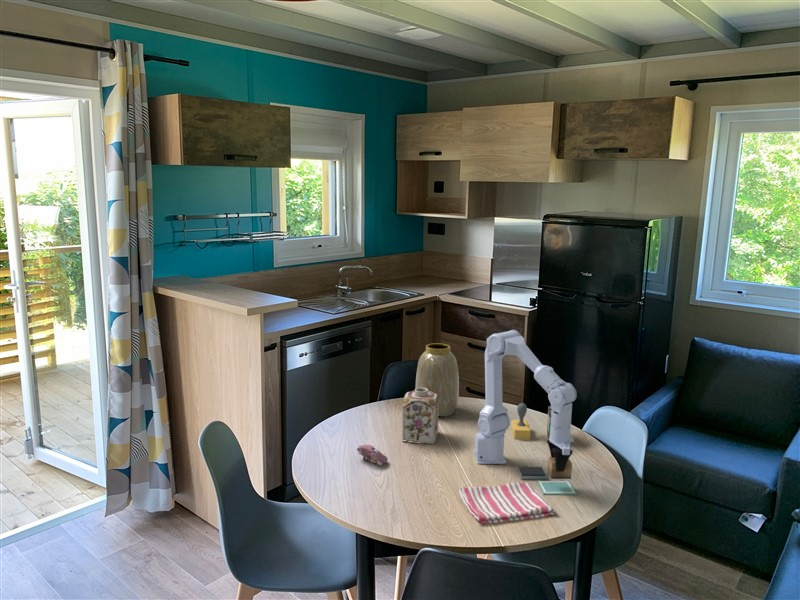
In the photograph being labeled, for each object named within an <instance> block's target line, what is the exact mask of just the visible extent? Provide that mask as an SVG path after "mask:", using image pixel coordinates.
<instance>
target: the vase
mask: <svg viewBox="0 0 800 600" xmlns="http://www.w3.org/2000/svg"><path fill="white" fill-rule="evenodd" d="M415 377H416V378H415V389H416V388H426V389H428V391H430V392H433V393H435V394H437V395H438V398H439V401H438V416H444V417H447V415H448V416H450V414H451V415H452V414H453V413H454V412H455V410H456V409H457V406H458V403H459V391H460V390H459V389H460V383H459V380H460V378H459V366H458V361H457V358H456V356H455V355H454V353H452V352H451V346H450V345H449V344H446V343H440V342H437V343H436V342H435V343H434V342H433V343H429V344H426V345H425V351H423V353H421V355H420V357H419V359H418V362H417V368H416V376H415Z"/></svg>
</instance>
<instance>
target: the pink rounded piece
mask: <svg viewBox="0 0 800 600" xmlns="http://www.w3.org/2000/svg"><path fill="white" fill-rule="evenodd" d="M356 450H357V452H358V455H360V456H362V457H363V458H364V457H365V458H367V459H369V461H371V460H372V461H371V462H372V463H373V462H376V463H377V462H378V463H381V464H383V463H385V462H387V463H388V457H387V456H386V455H384V454H382V452H381V451H380V450H379V449H377V448H375V447H374V445H372V444H371V445H370V444H365V443H362V444H360V445H359V446H358V447H357V448H356ZM365 458H364V459H365ZM385 464H386V463H385Z"/></svg>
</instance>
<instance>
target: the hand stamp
mask: <svg viewBox="0 0 800 600" xmlns="http://www.w3.org/2000/svg"><path fill="white" fill-rule="evenodd" d="M572 471H573V462H572V460H570V458H569V459H568V461H567V464H566V467H565V470H564V472H557V471H556V465H555V457H551V456H549V457H548V462H547V471H546V472H547V473H546V474H547V476H549V478H550V480H572Z"/></svg>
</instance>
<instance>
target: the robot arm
mask: <svg viewBox="0 0 800 600" xmlns="http://www.w3.org/2000/svg"><path fill="white" fill-rule="evenodd" d="M505 356H515V357H517V358H518V359H519V360H520V361H521V362H522V363H523V364H524V365H525V366H526V367H527V368H528V369H530V371H531V372H533V373H534V374H533V378H534V380H535V381H536V382H537V383H538V384H539V385H540V387H542V389H544V391H545V392H546V393H547V394H548V395H547V398H548V400H549V403H550V407H551V409H552V412H551V428H550V436H549V440H547V439H546V443H547V445H548V448H549V452H550V457H555V465H556V471H557V472H564V470H565V467H566V464H567V461H568V459H570V458H571V456H572V455H573V450H572V449H571V447H570V445H571V443H574V442H575V438H573V437H572V436H571V427H572V425H571V424H572V415H573V414H572V412H573V402H575V400H576V399H577V397H578V396H577V394H578V393H577V390H576V388H575V387H574V385H573V384H572V383H570V382H566V381H564V380H563V379H562V378H561V377H560V376H559V375H558V374H557V373H556V372H555V371H554V368H553V367H552V366H549V365H544V364H542V363H541V362H540V360H539V358H537V356H536V355H535V354H534V353H533V352H532V350H531V349H530V347H528V345H527V344H526V343H525V337H523V336H522V335H521V334H520V332H519V331H517V330H516V329H511V330H509V331H503V332H498V333H493V334H491V335H490V336H488V337H487V338H486V347H485V351H484V384H485V389H484V391H485V405H484V406H483V408H482V409H481V410H480V412H479V417H478V420H477V428H478V431H479V432H476V433H475V435H474V439H475V440H474V452H473V453H474V454H473V455H474V457H475V461H476V463H477V464H480V465H481V464H482V465H487V464H489V465H496V464H499V465H506V464H507V460H506V458H505V456H504V455H505V453H504V451H505V434H507V429H509V428H510V425H511V420H510V416H509V414H508V408H506V406H504V405H503V404H504V403H503V358H504V357H505Z"/></svg>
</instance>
